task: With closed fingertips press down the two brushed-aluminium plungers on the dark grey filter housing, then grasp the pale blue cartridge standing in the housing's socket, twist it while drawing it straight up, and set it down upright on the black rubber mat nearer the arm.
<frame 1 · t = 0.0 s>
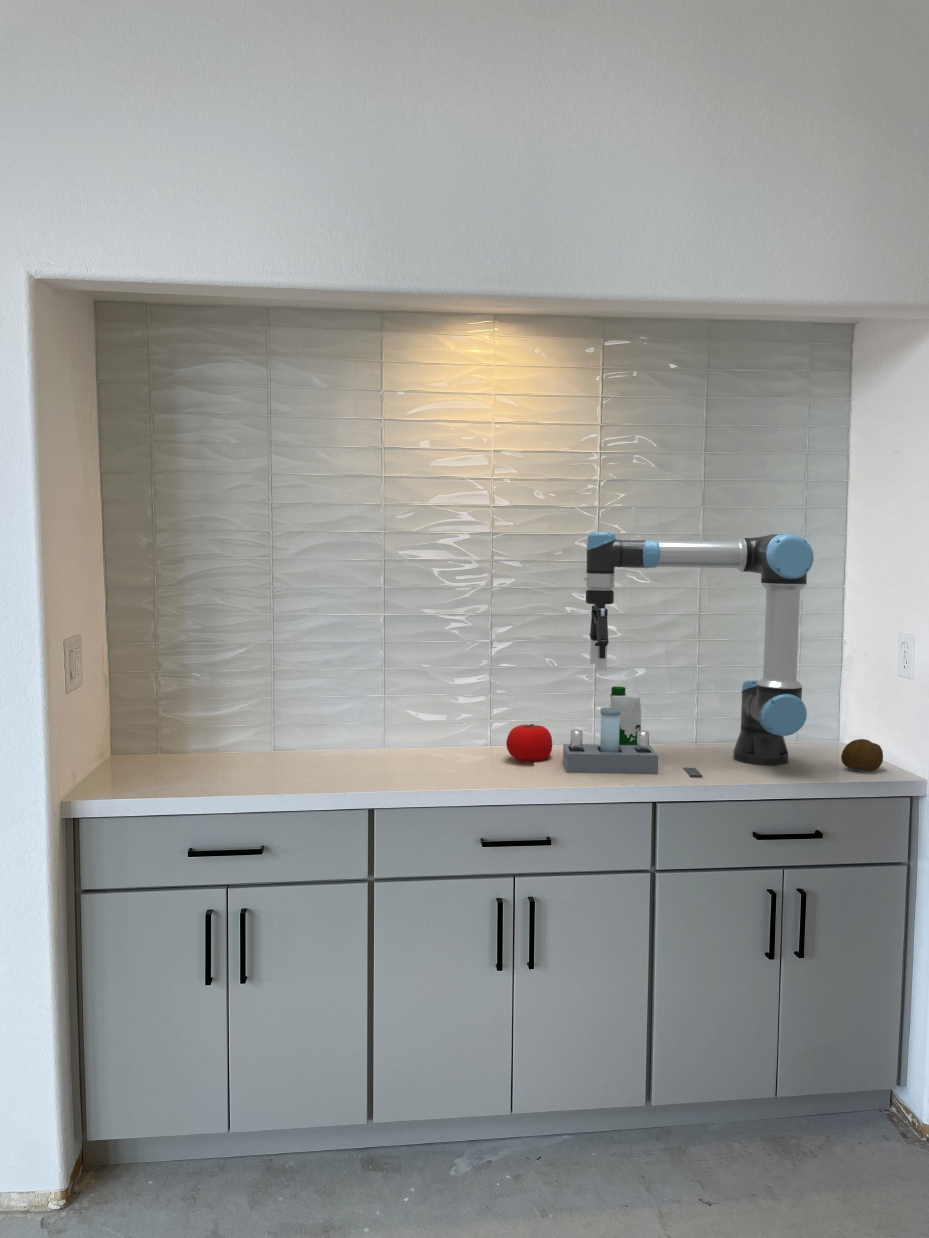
hand: (598, 667, 246), 28 cm above the counter, fingers open, 13 cm apart
mat: (683, 773, 243), on the counter
plunger b: (576, 743, 244), point 8 cm above the counter, slide at 0.0 cm
housing: (609, 771, 244), on the counter
cartridge: (609, 767, 244), point 1 cm above the counter, touching housing
plunger a: (643, 744, 243), point 8 cm above the counter, slide at 0.0 cm
milk carton: (624, 756, 263), on the counter
potato: (863, 771, 248), on the counter
tomato: (529, 761, 256), on the counter
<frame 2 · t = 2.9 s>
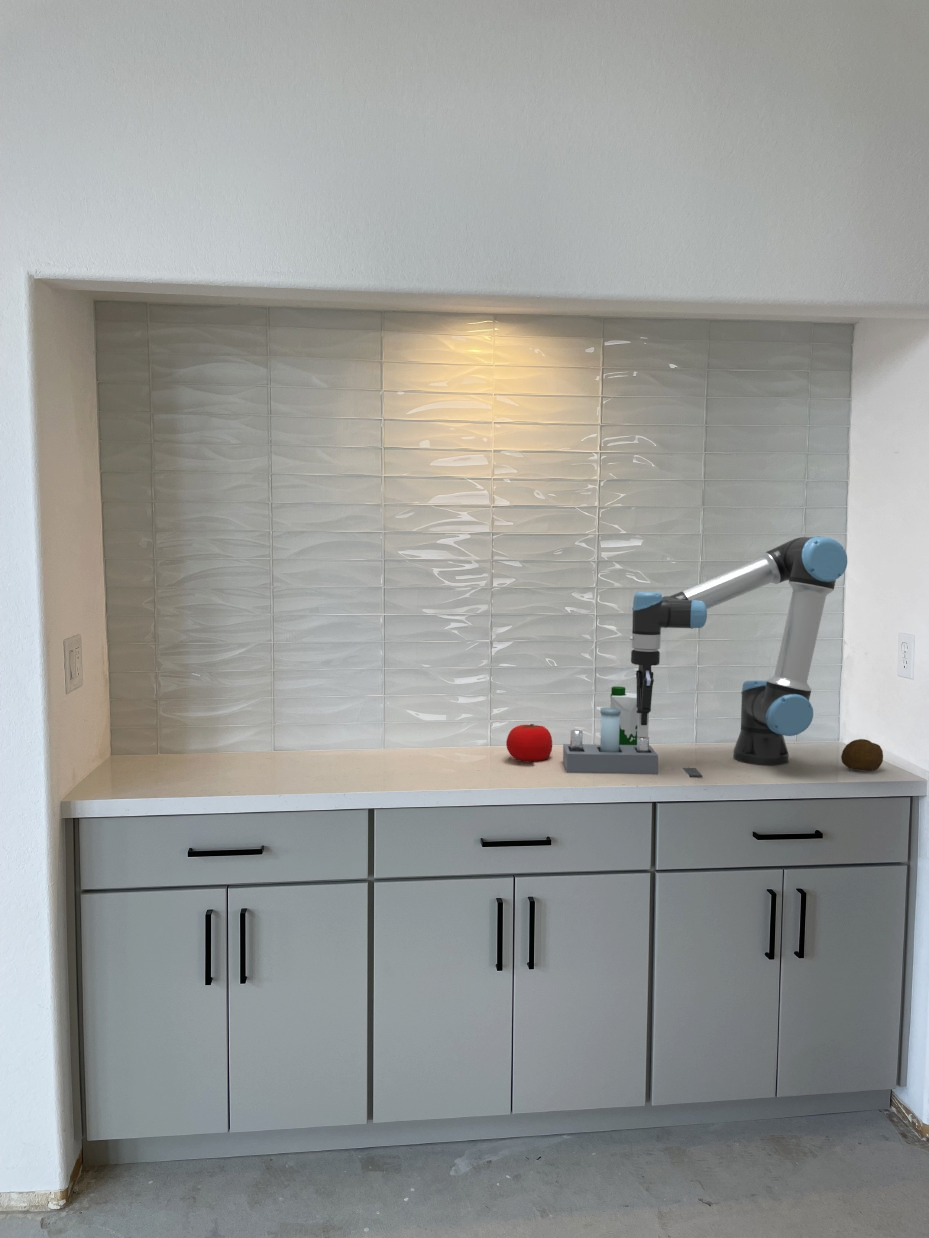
hand: (642, 736, 243), 10 cm above the counter, fingers closed
plunger a: (642, 749, 243), point 6 cm above the counter, slide at 1.5 cm, touching gripper
everything else where it was.
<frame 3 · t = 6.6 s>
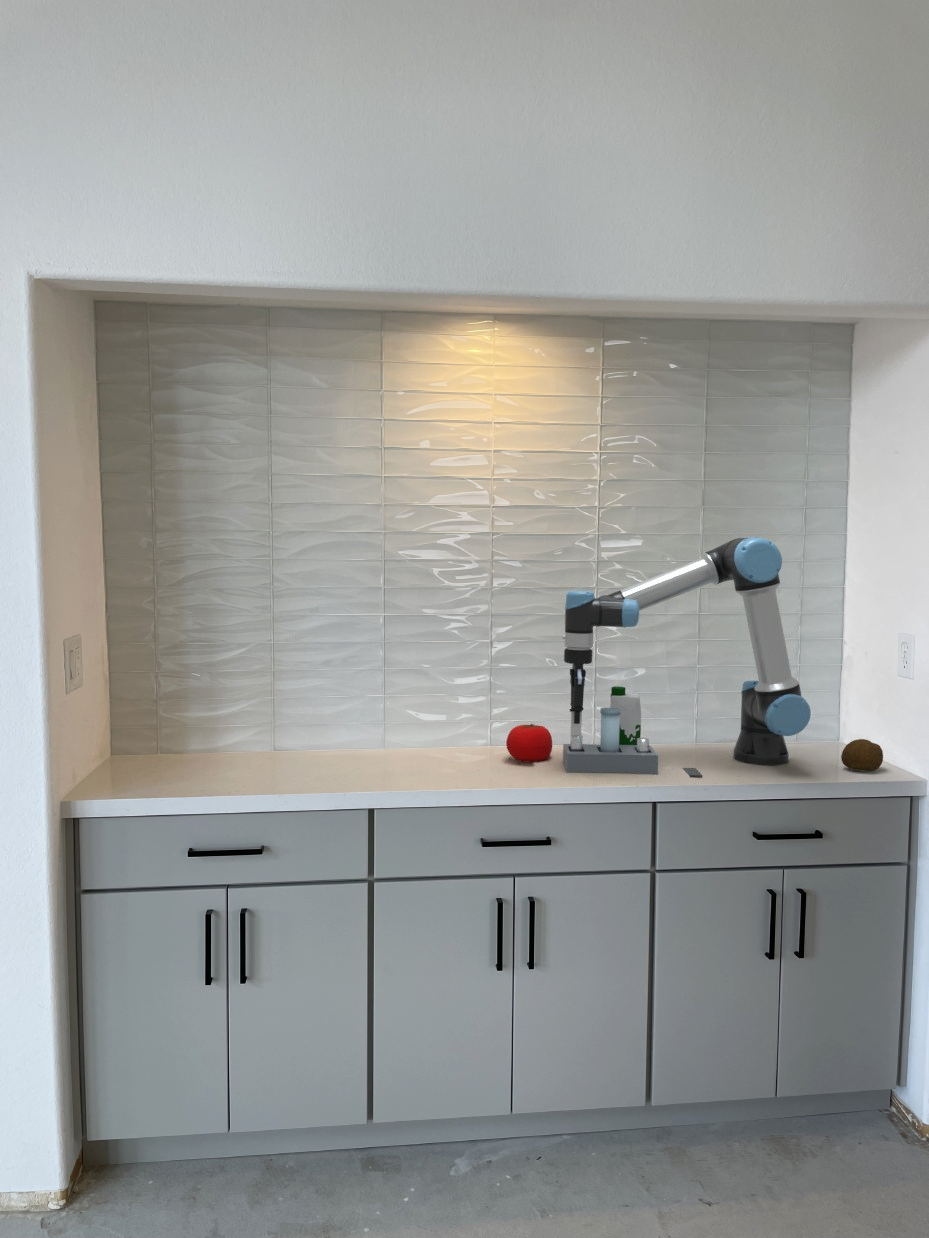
hand: (575, 734, 244), 10 cm above the counter, fingers closed
plunger b: (576, 748, 244), point 6 cm above the counter, slide at 1.4 cm, touching gripper
plunger a: (642, 751, 243), point 6 cm above the counter, slide at 1.9 cm
everything else where it was.
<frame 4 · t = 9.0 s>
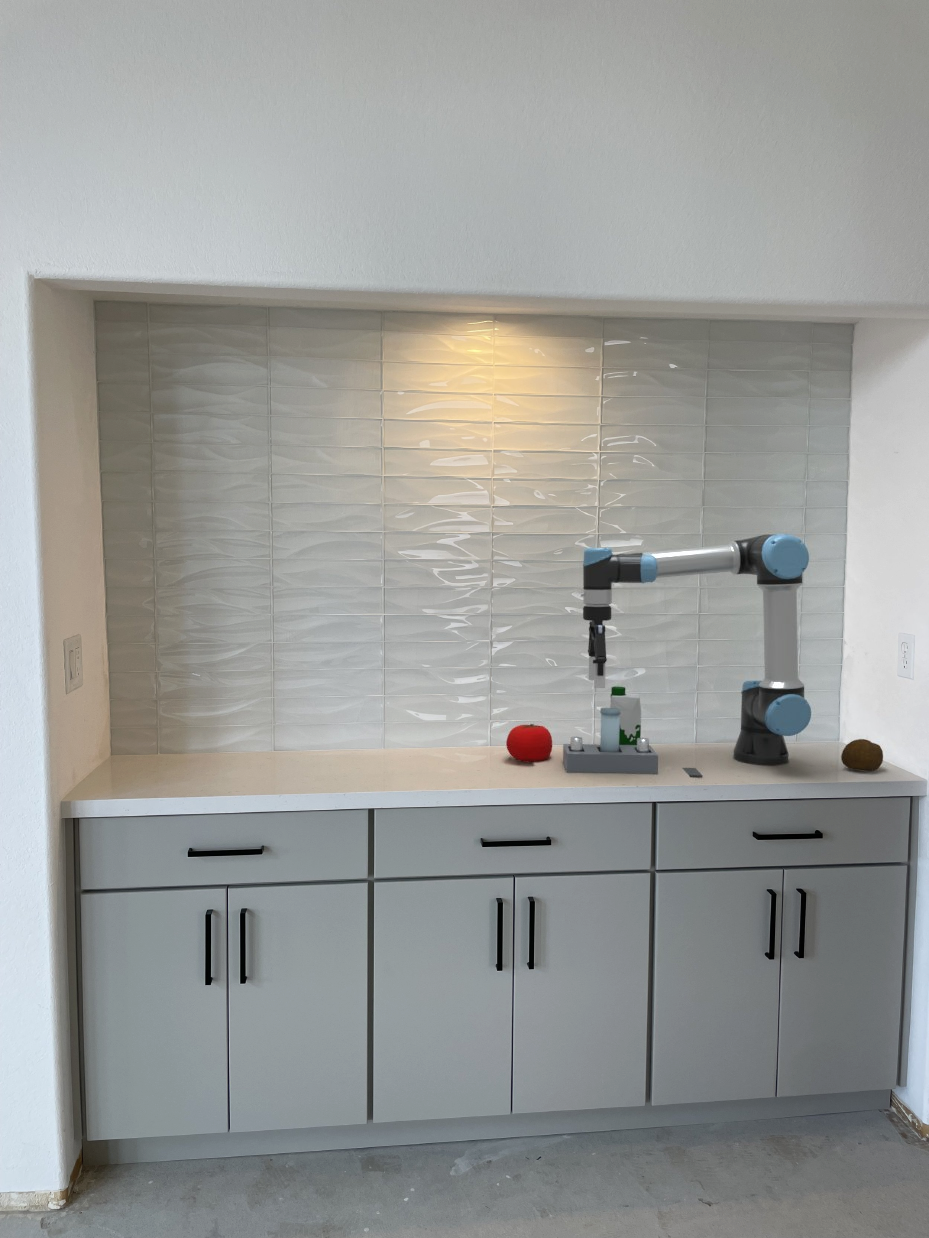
hand: (596, 684, 242), 24 cm above the counter, fingers open, 13 cm apart
plunger b: (576, 750, 244), point 6 cm above the counter, slide at 1.9 cm
everything else where it was.
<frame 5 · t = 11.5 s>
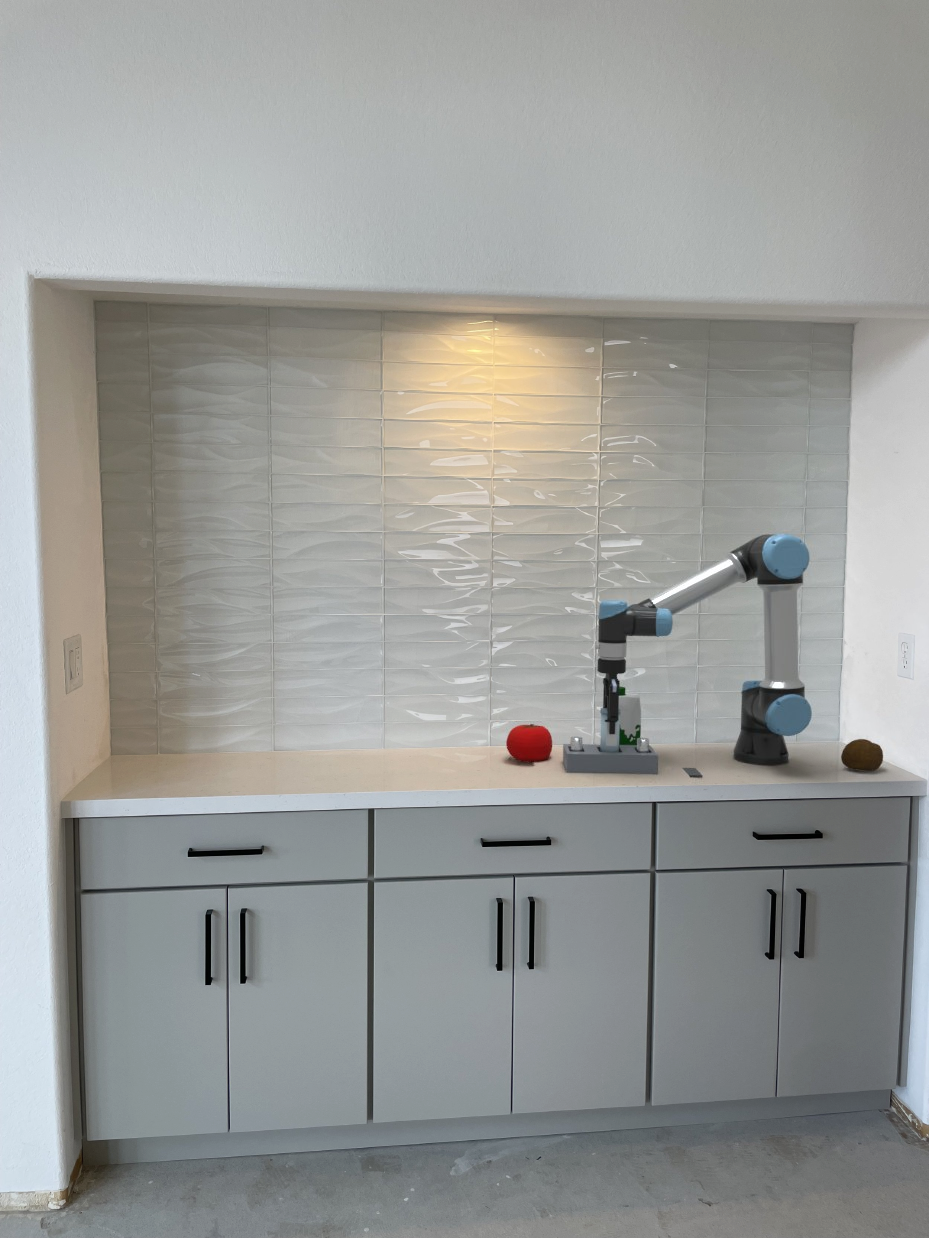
hand: (609, 743, 244), 8 cm above the counter, fingers closed on cartridge, 5 cm apart
cartridge: (609, 767, 244), point 1 cm above the counter, touching gripper, housing
everything else where it was.
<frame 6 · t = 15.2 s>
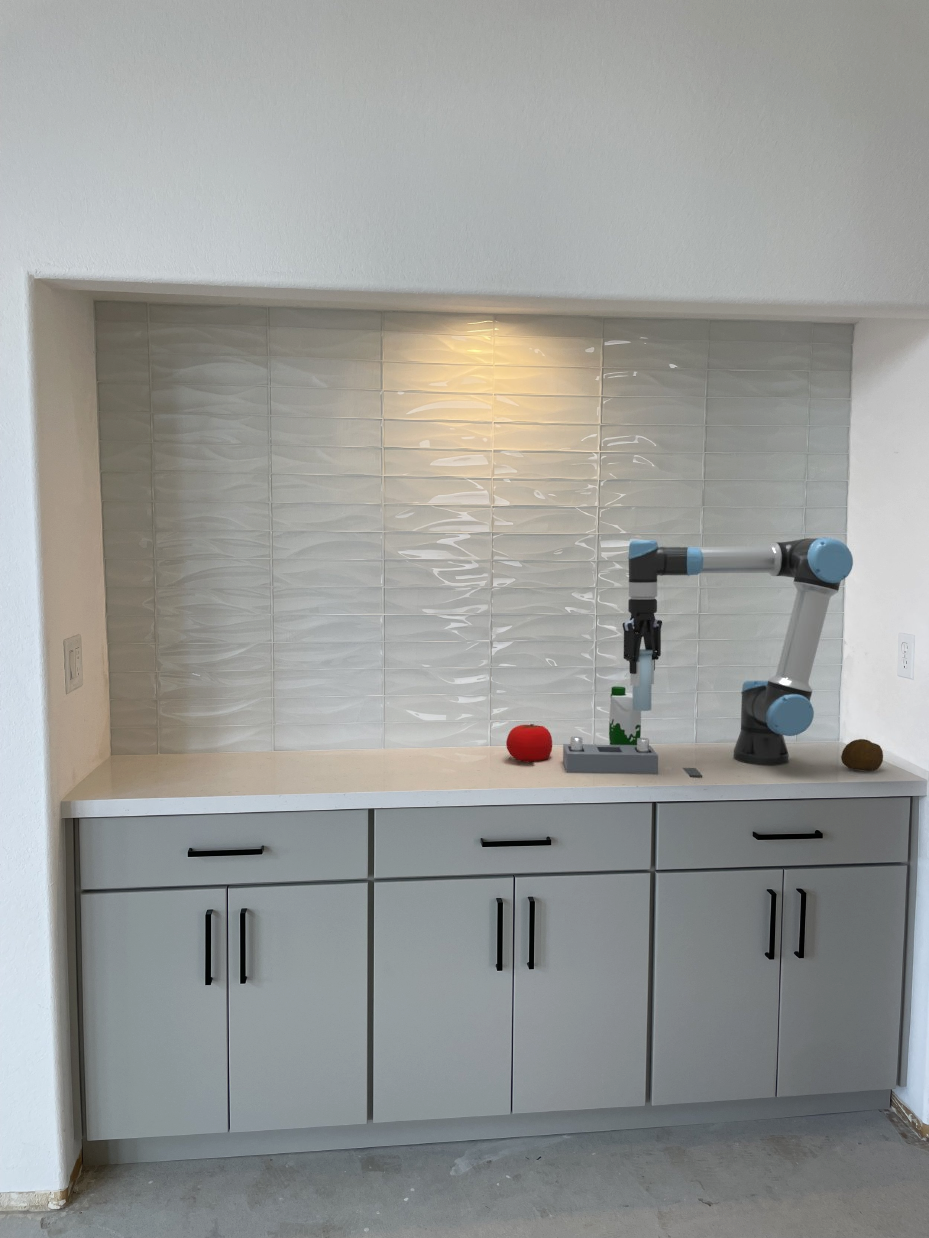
hand: (642, 684, 242), 24 cm above the counter, fingers closed on cartridge, 5 cm apart
cartridge: (641, 709, 242), point 17 cm above the counter, touching gripper
everything else where it was.
when the fingers open (9 cm above the counter, at t = 19.2 s): cartridge drops 2 cm, resting on mat.
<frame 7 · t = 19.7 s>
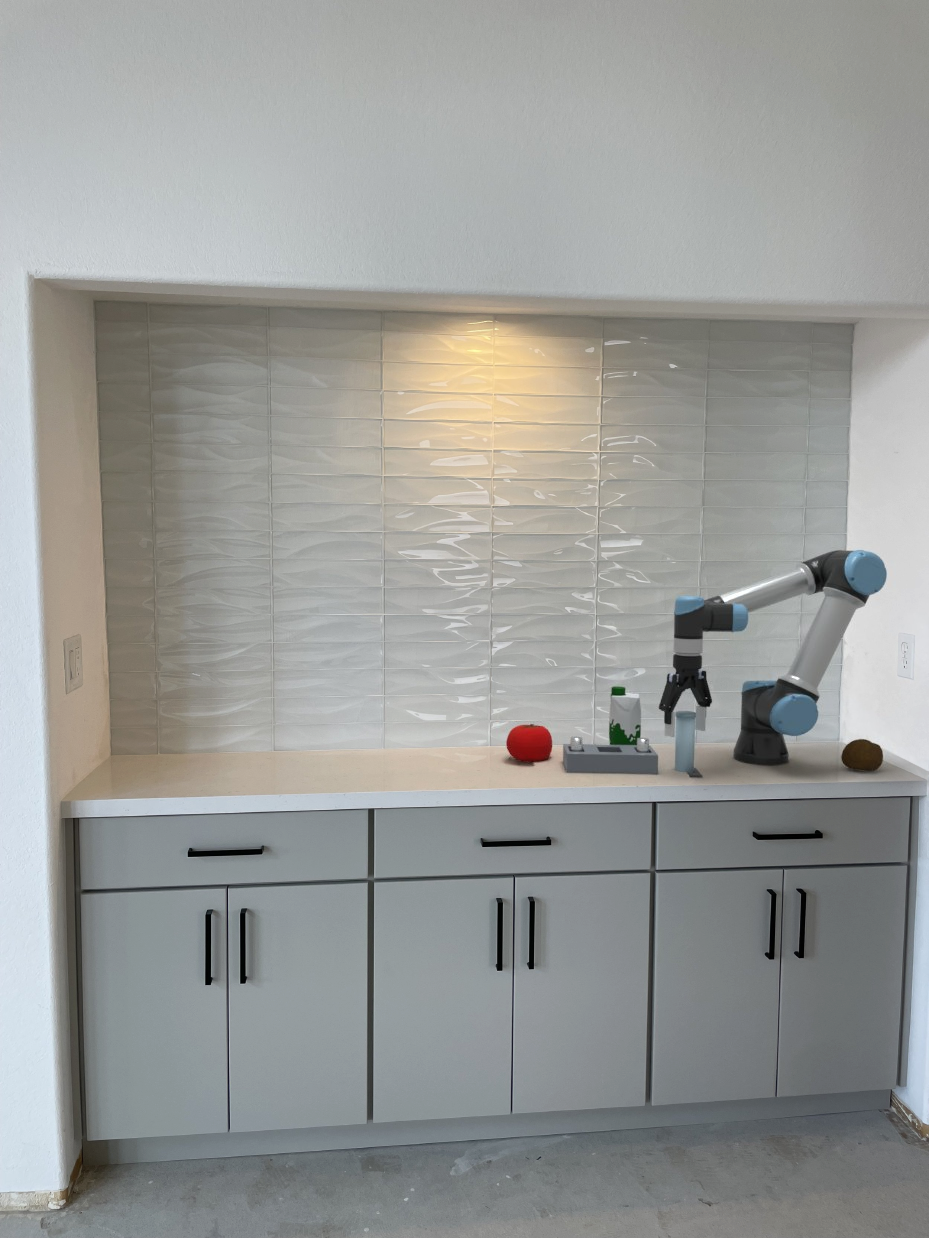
hand: (685, 733, 242), 11 cm above the counter, fingers open, 12 cm apart
cartridge: (684, 771, 243), point 1 cm above the counter, touching mat
everything else where it was.
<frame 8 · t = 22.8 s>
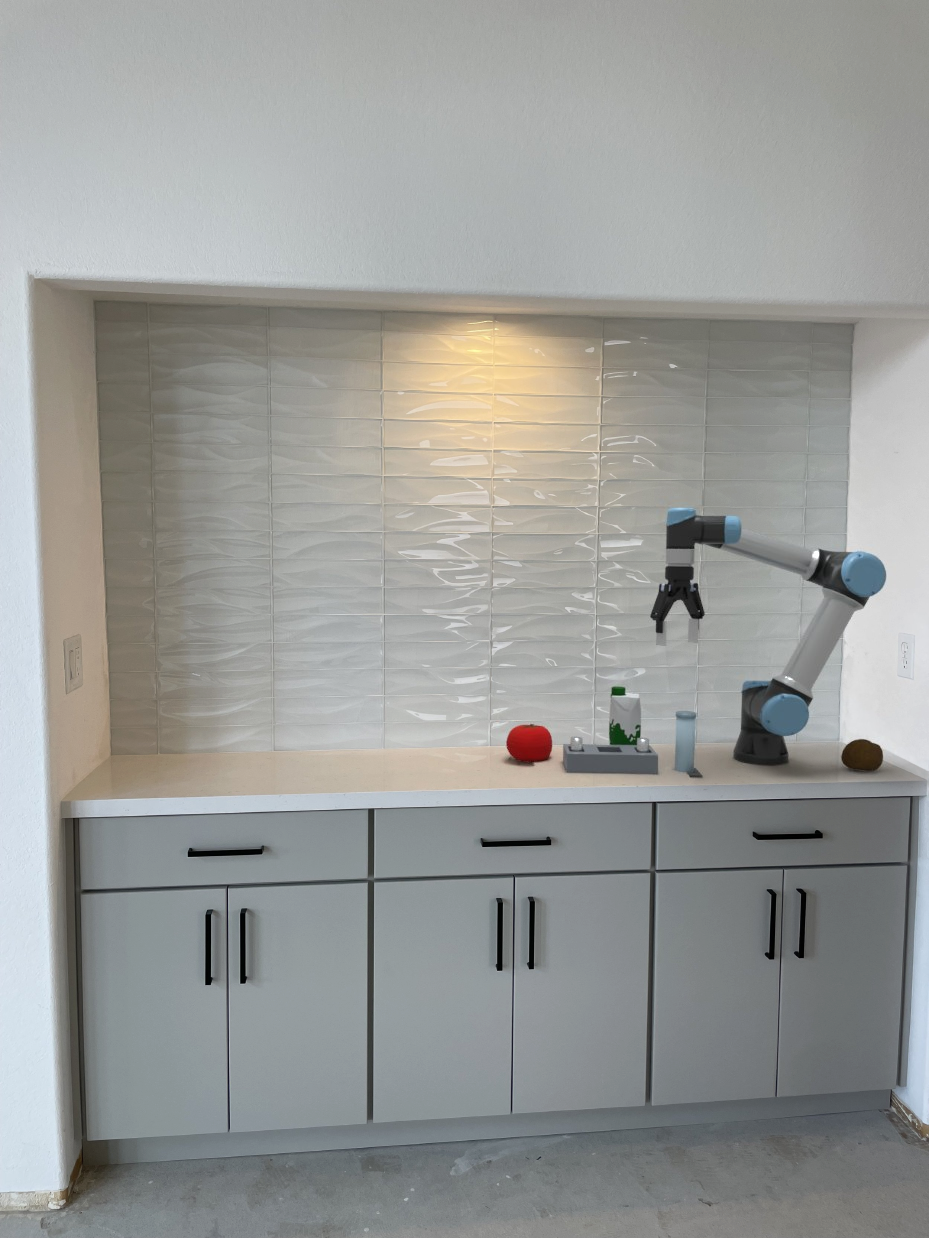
hand: (677, 643, 244), 35 cm above the counter, fingers open, 13 cm apart
nothing on the counter moved.
at the end: cartridge inside the target area on the mat (0.1 cm from its centre), point 0.6 cm above the mat's base; cartridge tilted 0°; plunger a slide at 1.9 cm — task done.
